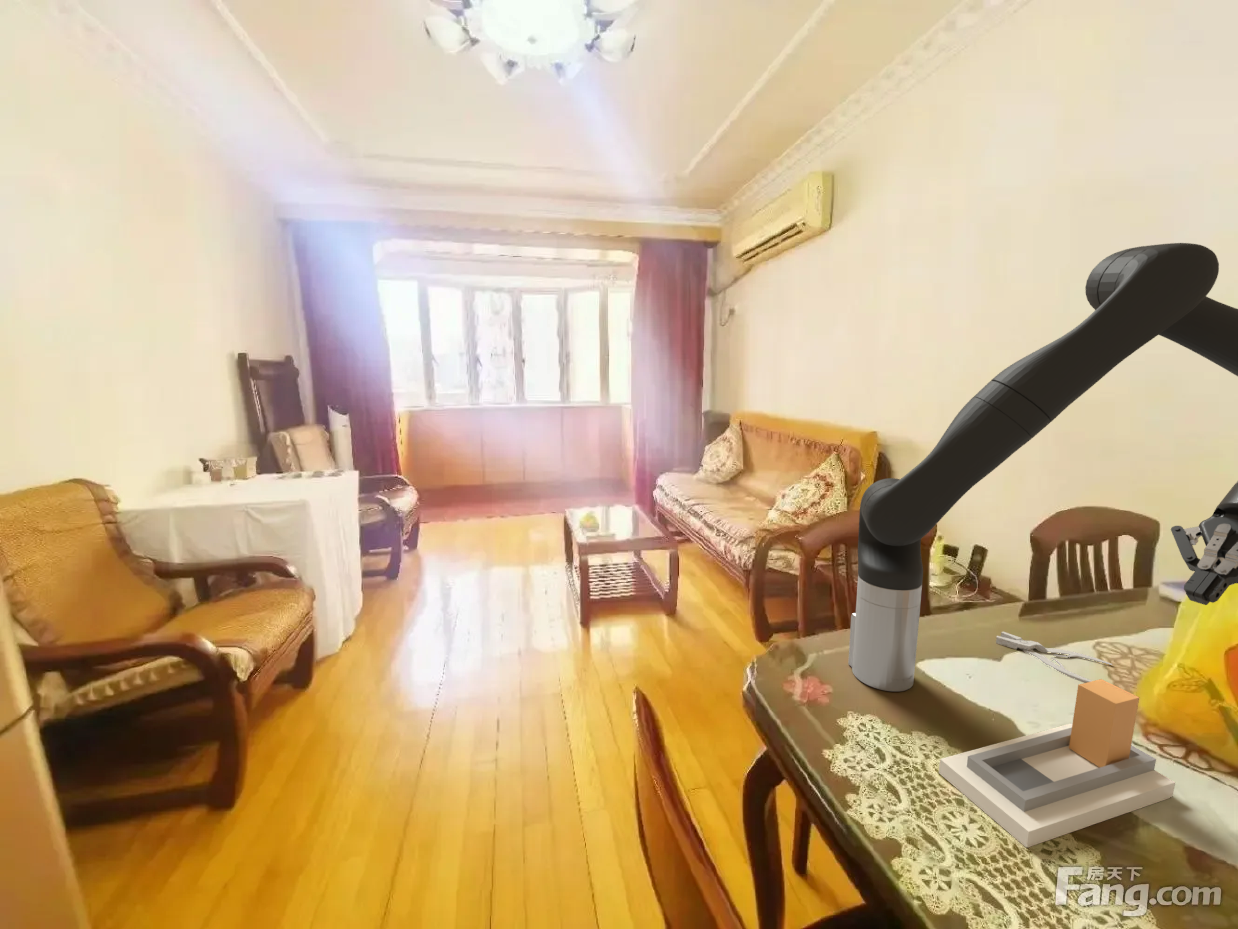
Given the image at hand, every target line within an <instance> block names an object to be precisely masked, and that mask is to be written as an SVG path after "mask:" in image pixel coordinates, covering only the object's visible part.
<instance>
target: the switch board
mask: <svg viewBox="0 0 1238 929" xmlns="http://www.w3.org/2000/svg"><path fill="white" fill-rule="evenodd" d="M1072 724H1073V722H1070V723H1067V724H1063V725H1060V726H1057V727H1052V728H1049V729H1046V730H1042V731H1041V730H1040V731H1039V732H1034V733H1031V734H1027V735H1023V736H1020V737H1015V738H1012V739H1008V740H1005V741H1001V742H998V743H997V742H996V743H994V744H990V745H986V746H983V747H980V748H976V749H972V750H967V751H964V752H961V753H957V754H954V755H949V756H946V757H942V758H940V759H939V766H938V774H940V776H942V777H943V778H944V779H945V780H947V781H948V782H949V783H950V784H951V785H953V786H954V787H955V788H956V789H957V790H958V791H959V792H960V793H961V794H962V795H964V796H965V797H966V798H967V799H968V800H970V802H972V803H973V804H974V805H976V806H977V807H978V808H979V809H980V810H982V811H983V812H984V813H985V814H986V815H987V816H989V817H990V818H991V819H992V820H993V821H994V822H995V823H997V824H998V825H999V826H1000V827H1002V828H1003V829H1004V830H1005V831H1006V832H1007V833H1009V835H1011V836H1012V837H1013V838H1014V839H1016V840H1017V841H1018V842H1019V843H1021V844H1022V845H1023V846H1024V847H1025V848H1030V847H1033V846H1036V845H1039V844H1041V843H1044V842H1047V841H1050V840H1052V839H1055V838H1059V837H1062V836H1064V835H1067V834H1070V833H1073V832H1075V831H1079V830H1081V829H1084V828H1088V827H1089V826H1094V825H1095V824H1099V823H1101V822H1104V821H1108V820H1110V819H1113V818H1117V817H1120V816H1122V815H1126V814H1127V813H1130V812H1134V811H1136V810H1139V809H1141V808H1145V807H1148V806H1150V805H1154V804H1156V803H1159V802H1161V801H1165V800H1168V799H1171V798H1173V797H1174V791H1175V786H1176V781H1174V780H1173V779H1170V778H1169V777H1167V776H1165V775H1163V773H1161V772H1158V771H1157V770H1155V768H1156V764H1157V763H1156V762H1157V759H1156V757H1153V756H1152V755H1150V754H1148V753H1147V752H1145V751H1143V750H1142V749H1140V748H1137V747H1135V746H1133V745H1132V744H1131V749H1130V755H1129V759H1126V760H1123V761H1120V762H1116V763H1113V764H1110V765H1107V766H1104V767H1098V766H1097V765H1095V764H1094V763H1092V762H1090V761H1089V760H1087V759H1086V758H1084V757H1082V756H1081V755H1079V754H1078V753H1076V752H1074V751H1073V750H1071V749H1070V748H1069V744H1070V737H1071V730H1072ZM1172 796H1173V797H1172ZM1170 797H1171V798H1170Z"/></svg>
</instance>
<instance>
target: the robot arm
mask: <svg viewBox="0 0 1238 929" xmlns="http://www.w3.org/2000/svg"><path fill="white" fill-rule="evenodd" d="M1219 266H1220V263H1219V260H1218V256H1217V255H1216V253H1215V252H1214V251H1213V250H1212V249H1210V248H1209V247H1207V246H1205V245H1201V244H1197V243H1189V242H1171V243H1162V244H1153V245H1152V244H1151V245H1150V244H1149V245H1142V246H1137V247H1136V246H1135V247H1131V248H1126V249H1123V250H1120V251H1119V250H1118V251H1117V252H1115V253H1112V254H1110V255H1108V256H1106V257H1105V258H1104V259H1102V260H1101V261H1099V262H1098V263H1097V265H1095V266H1094V268H1092V270H1091V271H1090V273H1089V274H1088V277H1087V279H1086V283H1085V288H1084V289H1085V290H1084V291H1085V296H1086V300H1087V301H1088V303H1089V305H1090V306H1091V307H1092V308H1093V310H1094V311H1093V312H1092V313H1091V314H1090V315H1088V317H1087V318H1085V319H1084V320H1083V321H1081V323H1080V324H1078V325H1076V327H1074V328H1073V329H1071V330H1070V331H1068V332H1067V333H1065V334H1064V335H1062V336H1060V337H1058V338H1057V339H1055V340H1053V341H1052V342H1050V343H1048V344H1046V345H1044V346H1042V347H1040V348H1038V349H1037V350H1035V351H1033V352H1032V353H1030V354H1027V355H1026V356H1024V357H1022V358H1021V359H1019V360H1017V361H1015V362H1013V363H1012V364H1010V365H1008V367H1006V368H1004V369H1003V370H1001V371H1000V372H999V373H998V374H997V375H995V376H994V377H993V378H992V379H991V380H990V381H989V382H988V383H986V384H985V385H984V386H983V387H982V388H981V389H980V390H979V391H978V392H977V393H976V394H975V395H973V397H971V398H970V399H969V401H968V402H966V404H964V405H963V407H962V408H961V409H960V411H958V413H957V414H956V415H955V417H954V418H953V420H952V421H951V423H950V424H949V426H947V429H946V430H945V431H944V433H943V435H942V436H941V437H940V439H939V440H938V441H937V443H936V445H935V447H933V449H932V450H931V451H930V453H929V454H928V455H926V457H925V458H924V459H923V460H922V461H921V462H919V463H918V464H917V465H916V466H915V467H913V468H912V469H911V470H910V471H909V472H907V473H906V474H905V475H904V476H902V478H899V479H898V478H894V477H893V478H891V477H889V478H883V479H879V480H877V481H875V482H874V483H872V484H870V485H869V486H868V488H866V490H865V491H864V492H863V495H862V497H861V499H860V505H859V514H858V515H859V517H858V518H859V520H858V540H857V560H858V561H857V563H858V566H857V569H858V571H857V585H856V586H857V587H856V589H857V590H856V603H855V612H853V613H851V615H850V628H849V629H850V630H849V631H850V632H849V648H848V662H847V664H848V665H849V666H850V667H851V668H852V670H851V671H852V673H853V676H855V678H856V679H857V680H859V681H860V682H862V683H864V684H865V685H867V686H869V687H871V688H874V689H877V690H881V691H886V692H904V691H905V692H906V691H908V690H910V689H911V688H912V687H913V685H914V678H915V671H916V670H915V669H916V668H915V667H916V659H917V651H918V650H917V646H918V639H919V638H918V637H919V636H918V635H919V625H920V613H921V600H922V588H923V577H924V568H923V567H924V566H923V560H922V553H921V552H922V551H921V549H922V548H921V543H922V539H923V538H924V537H925V536H926V535H927V534H929V532H931V530H933V528H934V527H935V526H937V524H939V522H940V521H941V520H942V519H943V517H944V516H945V515H946V514H947V513H948V512H949V511H950V510H951V509H952V508H953V507H954V506H955V505H956V504H957V503H958V502H959V500H960V499H961V498H962V497H963V496H965V495H966V493H968V491H969V490H971V489H972V488H973V487H974V486H976V485H977V484H978V483H979V482H980V481H981V480H983V479H984V478H985V477H987V476H988V475H989V474H991V472H993V471H994V470H996V468H998V467H999V466H1000V465H1002V464H1003V463H1004V462H1005V461H1006V460H1007V459H1009V458H1010V457H1011V456H1012V455H1013V454H1014V453H1016V452H1017V451H1018V450H1019V449H1021V448H1022V447H1023V446H1025V445H1026V444H1027V443H1029V441H1031V440H1032V439H1033V438H1034V437H1035V436H1037V435H1038V434H1039V433H1040V432H1042V430H1044V429H1045V428H1046V427H1047V426H1048V425H1049V424H1050V423H1051V422H1053V421H1054V420H1055V419H1056V418H1057V417H1058V416H1059V415H1060V414H1061V413H1062V412H1064V411H1065V410H1066V409H1067V408H1068V407H1069V406H1070V405H1071V404H1072V403H1074V402H1075V401H1076V400H1078V398H1080V397H1081V396H1082V395H1084V394H1085V393H1086V392H1087V391H1088V390H1089V389H1091V388H1092V387H1093V386H1094V385H1095V384H1097V383H1098V382H1099V381H1100V380H1101V379H1103V377H1105V376H1106V375H1107V374H1108V373H1110V372H1111V371H1112V370H1113V369H1114V368H1115V367H1117V366H1118V365H1119V364H1120V363H1122V362H1123V361H1125V359H1127V358H1129V356H1131V355H1132V354H1133V353H1135V352H1136V351H1138V350H1139V349H1141V347H1143V346H1145V345H1146V344H1147V343H1149V342H1150V341H1152V340H1153V339H1155V338H1156V337H1158V336H1161V337H1163V338H1166V339H1167V340H1170V341H1171V342H1173V343H1176V344H1178V345H1179V346H1182V347H1184V348H1185V349H1188V350H1190V351H1192V352H1193V353H1196V354H1198V355H1199V356H1201V357H1203V358H1205V359H1207V360H1208V361H1210V362H1212V363H1214V364H1216V365H1217V366H1219V367H1221V368H1223V369H1225V371H1228V372H1229V373H1230V374H1233V375H1235V376H1236V377H1238V308H1236V307H1233V306H1230V305H1227V304H1225V303H1223V302H1220V301H1217V300H1215V299H1213V298H1211V297H1209V296H1207V295H1208V294H1209V293H1210V292H1211V291H1212V289H1213V287H1214V285H1215V284H1216V282H1217V279H1218V276H1219V272H1220V270H1219V269H1220V267H1219ZM1170 532H1171V533H1172V536H1173V538H1174V541H1175V544H1176V547H1177V548H1178V551H1179V552H1180V555H1181V558H1182V559H1183V561H1184V563H1185V564H1186V566H1187V568H1188V570H1190V571H1192V572H1193V573H1192V574H1191V576H1190V577H1189V578H1188V579H1187V581H1186V583H1185V584H1184V585H1183V590H1184V592H1185V594H1186V596H1187V598H1188V600H1189V601H1192V602H1195V603H1198V604H1201V605H1204V606H1207V605H1209V603H1212V604H1215V603H1216V602H1218V601H1219V599H1220V598H1221V597H1222V596H1223V595H1224V593H1225V592H1226V591H1227V589H1228V588H1229V587H1230V586H1233V585H1235V584H1238V480H1237V481H1236V482H1235V483H1234V484H1233V485H1232V487H1231V489H1230V490H1229V491H1228V492H1226V495H1225V496H1224V497H1223V499H1222V500H1221V501H1220V502H1219V504H1218V505H1217V506H1215V509H1214V511H1213V514H1212V515H1211V516H1210V517H1209V518H1207V519H1204V520H1202V521H1201V522H1200V523H1199V525H1198V526H1194V527H1193V526H1192V527H1188V528H1187V527H1186V528H1184V527H1183V526H1182V525H1174V526H1171V529H1170ZM1200 537H1202V540H1203V542H1204V544H1205V548H1204V549H1203V555H1202V556H1201V558H1199V557H1198V556H1197V553H1196V551H1195V548H1194V546H1196V545H1197V544H1198V543H1199V538H1200Z"/></svg>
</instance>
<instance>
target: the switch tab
mask: <svg viewBox="0 0 1238 929" xmlns="http://www.w3.org/2000/svg"><path fill="white" fill-rule="evenodd" d="M1139 703H1140V697H1139V696H1137V695H1136V694H1133V693H1131V692H1129V691H1127V690H1125V689H1123V688H1121V687H1118V686H1116V685H1114V684H1112V683H1111V682H1108V681H1106V680H1104V679H1102V678H1100V679H1096V680H1092V681H1091V682H1087V683H1085V682H1082V683H1080V684H1078V685H1077V690H1076V698H1075V705H1074V712H1073V717H1072V723H1073V724H1072V730H1071V737H1070V744H1069V748H1070V749H1071V750H1073V751H1074V752H1076V753H1078V754H1079V755H1081V756H1082V757H1084V758H1086V759H1087V760H1089V761H1090V762H1092V763H1094V764H1095V765H1097V766H1098V767H1104V766H1107V765H1110V764H1113V763H1116V762H1120V761H1123V760H1126V759H1129V755H1130V749H1131V745H1132V742H1133V738H1134V732H1135V727H1136V726H1135V725H1136V720H1137V714H1138V709H1139Z"/></svg>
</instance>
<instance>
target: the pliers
mask: <svg viewBox="0 0 1238 929" xmlns="http://www.w3.org/2000/svg"><path fill="white" fill-rule="evenodd" d="M995 638H996V640H995V644H997V645H1001V646H1004V647H1007V648H1010V649H1013V650H1017V649H1019V650H1022V651H1023V653H1025V652H1026V653H1025V654H1027V653H1030V654H1031V655H1030V654H1029V655H1030V656H1032V655H1033V656H1035V657H1037V658H1038V659H1040V660H1041V661H1042V662H1043V663H1045V664H1046V665H1049V666H1051V667H1053V668H1054V669H1056V670H1057V671H1059V672H1061V673H1060V674H1062V673H1063V674H1062V675H1064V674H1065V676H1066V675H1067V677H1069V678H1071V679H1074V678H1075V679H1074V680H1076V679H1077V681H1079V680H1080V682H1082V683H1087V682H1091V681H1093V680H1092V679H1089V678H1086V677H1084V676H1081V675H1079V674H1077V673H1075V672H1072V671H1070V670H1068V669H1066V668H1065V667H1064V665H1063V664H1062V663H1061V662H1060V661H1059V660H1057V659H1056V657H1069V658H1068V659H1071V658H1070V657H1081V658H1085V659H1090V660H1094V661H1097V662H1102V663H1106V664H1109V665H1112V666H1113V663H1110V662H1108V661H1106V660H1104V659H1100V658H1096V657H1094V656H1090V655H1087V654H1083V653H1079V652H1076V651H1075V652H1074V651H1070V650H1066V649H1060V648H1050V647H1049V648H1048V647H1045V646H1044V645H1043V644H1041V643H1040V642H1038V641H1033V640H1024V639H1023V638H1022V637H1020V636H1017V635H1014V634H1011V633H1009V632H1006V631H1001V633H1000V635H996V637H995ZM1034 649H1035V650H1037V651H1038V652H1039V651H1041V652H1040V653H1043V652H1051V653H1059V654H1060V653H1061V654H1069V655H1068V656H1066V655H1058V654H1053V655H1054V656H1056V657H1050V659H1049V658H1048V657H1047V656H1045V655H1043V654H1040V653H1038V652H1035V651H1034ZM1033 656H1032V657H1033ZM1035 657H1034V658H1035ZM1037 658H1036V659H1037ZM1081 658H1080V659H1081ZM1038 659H1037V660H1038ZM1051 659H1053V660H1055V661H1056V662H1057V663H1058V664H1059V665H1060V666H1059V665H1058V664H1057V663H1056V662H1054V661H1053V660H1051ZM1085 659H1084V660H1085ZM1043 663H1042V664H1043ZM1046 665H1045V666H1046ZM1057 671H1056V672H1057ZM1059 672H1058V673H1059Z"/></svg>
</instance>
